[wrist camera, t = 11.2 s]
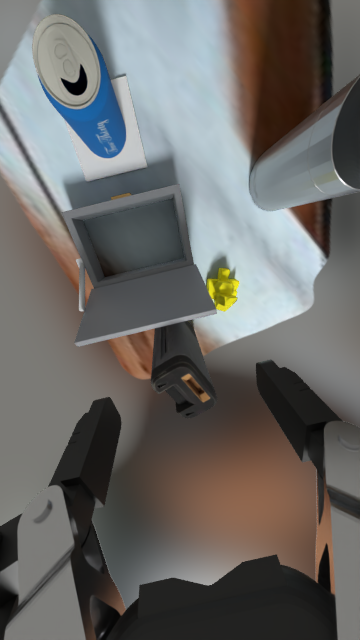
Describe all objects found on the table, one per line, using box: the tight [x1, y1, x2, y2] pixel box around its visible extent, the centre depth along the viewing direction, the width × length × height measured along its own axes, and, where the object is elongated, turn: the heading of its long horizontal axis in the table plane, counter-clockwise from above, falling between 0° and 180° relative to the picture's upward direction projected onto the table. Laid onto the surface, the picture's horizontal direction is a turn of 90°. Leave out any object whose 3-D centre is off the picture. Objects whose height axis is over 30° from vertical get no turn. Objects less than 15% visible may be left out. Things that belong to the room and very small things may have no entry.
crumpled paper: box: [207, 268, 239, 311], centre depth 36 cm, size 6×8×8 cm
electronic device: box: [151, 321, 217, 418], centre depth 33 cm, size 9×6×20 cm, turn 34°
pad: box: [64, 76, 147, 182], centre depth 28 cm, size 10×10×1 cm
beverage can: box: [32, 14, 126, 158], centre depth 22 cm, size 6×6×12 cm
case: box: [62, 184, 217, 346], centre depth 28 cm, size 19×17×16 cm
